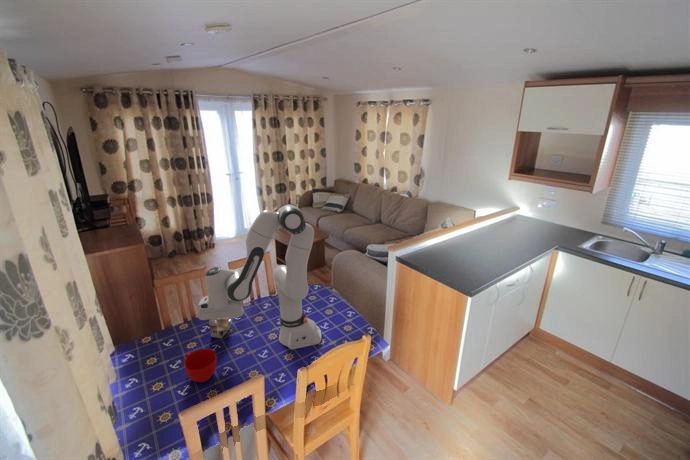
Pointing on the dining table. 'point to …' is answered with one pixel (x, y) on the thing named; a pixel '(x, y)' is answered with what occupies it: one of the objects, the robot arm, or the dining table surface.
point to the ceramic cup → (200, 364)
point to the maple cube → (222, 324)
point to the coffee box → (214, 330)
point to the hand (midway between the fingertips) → (223, 324)
